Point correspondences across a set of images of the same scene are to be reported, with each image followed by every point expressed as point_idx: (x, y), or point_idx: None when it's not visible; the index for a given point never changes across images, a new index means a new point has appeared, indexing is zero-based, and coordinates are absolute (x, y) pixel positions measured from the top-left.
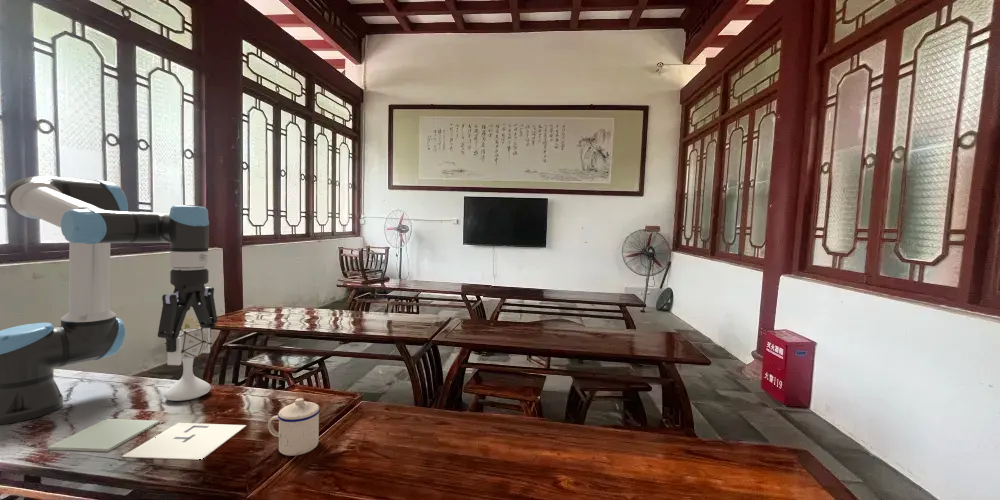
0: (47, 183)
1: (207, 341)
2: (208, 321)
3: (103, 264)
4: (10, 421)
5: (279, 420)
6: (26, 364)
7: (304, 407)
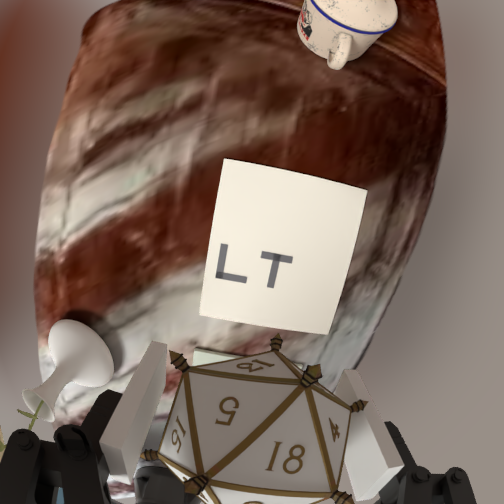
0: None
1: (195, 382)
2: (92, 488)
3: None
4: None
5: (377, 34)
6: None
7: None
